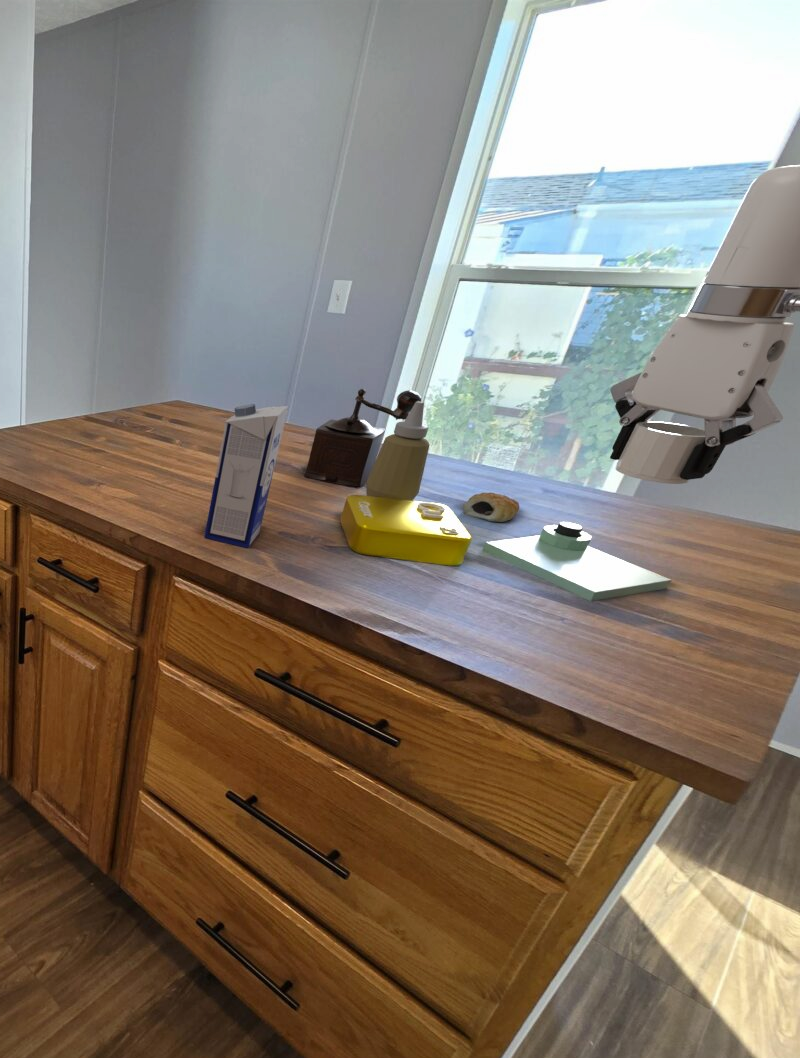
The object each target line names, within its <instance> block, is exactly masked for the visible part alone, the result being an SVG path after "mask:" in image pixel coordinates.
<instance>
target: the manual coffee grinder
mask: <svg viewBox="0 0 800 1058" xmlns="http://www.w3.org/2000/svg"><path fill="white" fill-rule="evenodd" d="M366 394H367V391H366V389H365V388H360V389H359V390H357V396H356V397H355V401H356V402H355V404H354V409H353V412H352V414H351V416H346V417H343V418H341V419H329V420H328V421H326V422H325V423H323V424H322V425H319V426H318V427H317V428H316V430H315V433H314V438H313V441H312V445H311V449H310V454H309V458H308V461H307V466H306V470H305V472H304V477H305V478H309V479H314V480H318V481H323V482H327V483H331V484H339V485H344V486H350V487H356V488H360V487H363V486H364V485H366V482H367V480H368V477H369V475H370V473H371V470H372V468H373V466H374V463H375V461H376V459H377V456H378V454H379V452H380V449H381V446H382V445H381V444H382V442H383V438H384V436H385V432H386V428H383V427H379V426H374V425H371V424H370V423H369V422H367V421H366V420H365V419H363V418H359V413H360V411H361V408H362V407H361V406H362V404H363V405H364V406H366V407H367V408H370V409H372V410H373V409H374V410H376V411H379V412H381V413H385V414H387V415H389V416H391V417H393V418H394V419H395V421H398V420H402V421H405V420H406V418H407V416H408V415H409V413H410V411H411V409H412V408H413V406H414V404H415V403H416V402H417V401H419V402H422V397H421V395H420V394H419V393H418V392H417V391H414V390H411V389H408V390H403V391H401V392H400V393H399V394H398V395H397V396H396V407H395V409H394V410H392V409H390V408H389V407H386V406H383V405H380V404H376V403H373V402H371V401H368V400H367V399H365V395H366Z"/></svg>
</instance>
